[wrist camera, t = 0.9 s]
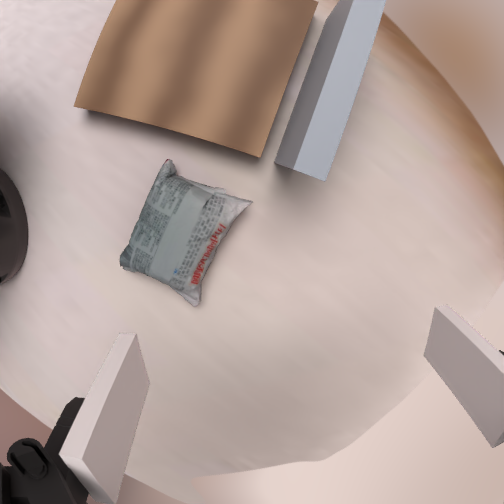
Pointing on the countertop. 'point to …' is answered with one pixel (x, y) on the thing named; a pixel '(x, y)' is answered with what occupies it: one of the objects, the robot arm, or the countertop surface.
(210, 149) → the countertop surface
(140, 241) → the packaged food
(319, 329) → the countertop surface
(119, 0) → the plinth
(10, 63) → the countertop surface
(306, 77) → the backboard
